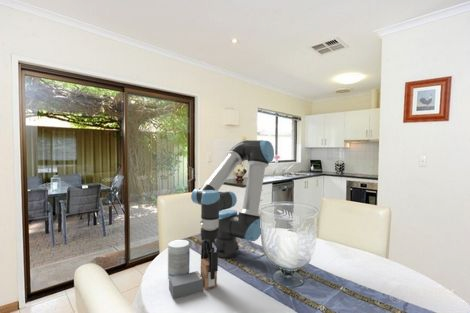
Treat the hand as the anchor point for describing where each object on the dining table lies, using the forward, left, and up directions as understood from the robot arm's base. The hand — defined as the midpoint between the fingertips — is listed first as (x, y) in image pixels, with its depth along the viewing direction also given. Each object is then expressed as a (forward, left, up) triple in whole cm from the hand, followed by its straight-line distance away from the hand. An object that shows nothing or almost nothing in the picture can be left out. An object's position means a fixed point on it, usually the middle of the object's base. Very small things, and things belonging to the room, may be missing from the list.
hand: (208, 281), depth 100 cm
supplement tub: (+9, -13, -2) cm, 16 cm away
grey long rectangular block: (+10, 0, -1) cm, 10 cm away
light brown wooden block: (0, 0, -1) cm, 1 cm away
